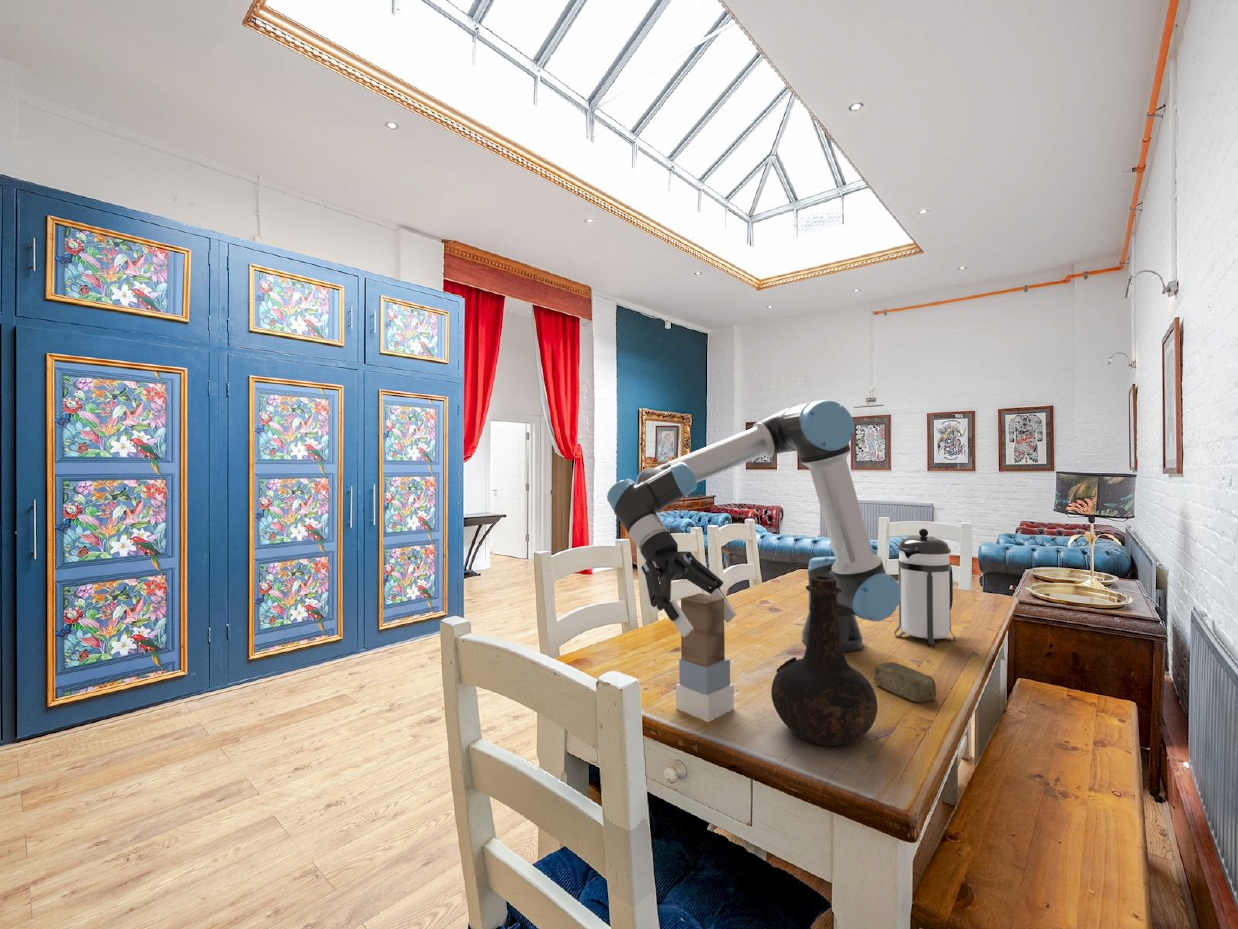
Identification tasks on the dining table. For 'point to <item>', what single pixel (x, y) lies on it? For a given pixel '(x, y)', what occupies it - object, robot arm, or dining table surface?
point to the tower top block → (704, 676)
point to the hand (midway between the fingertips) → (711, 626)
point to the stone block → (905, 682)
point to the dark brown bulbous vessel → (824, 680)
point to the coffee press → (925, 588)
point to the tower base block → (705, 701)
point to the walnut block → (703, 629)
